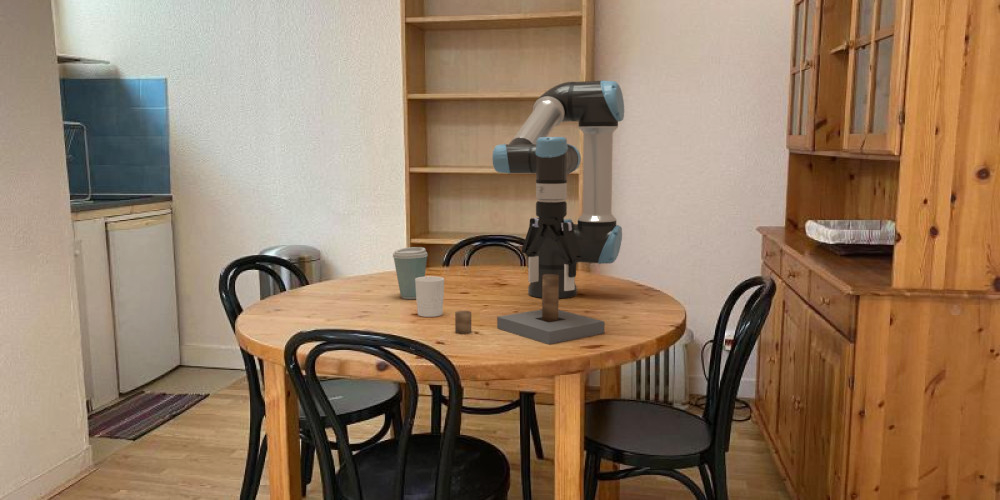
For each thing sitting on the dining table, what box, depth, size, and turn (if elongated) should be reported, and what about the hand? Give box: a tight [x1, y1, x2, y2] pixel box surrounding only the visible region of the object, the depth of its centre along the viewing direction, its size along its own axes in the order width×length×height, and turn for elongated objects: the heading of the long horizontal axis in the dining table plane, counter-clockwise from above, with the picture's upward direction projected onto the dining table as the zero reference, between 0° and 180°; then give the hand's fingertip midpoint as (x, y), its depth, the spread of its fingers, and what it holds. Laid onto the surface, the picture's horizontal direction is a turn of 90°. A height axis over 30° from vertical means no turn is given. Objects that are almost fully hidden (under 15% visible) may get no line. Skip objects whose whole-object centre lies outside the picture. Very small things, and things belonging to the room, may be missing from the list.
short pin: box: [454, 310, 472, 335], centre depth 190 cm, size 4×4×5 cm
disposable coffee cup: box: [392, 246, 429, 300], centre depth 233 cm, size 11×11×15 cm
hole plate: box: [496, 308, 606, 345], centre depth 192 cm, size 20×18×3 cm
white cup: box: [415, 275, 445, 318], centre depth 210 cm, size 8×8×10 cm
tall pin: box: [541, 274, 560, 322], centre depth 191 cm, size 4×4×14 cm
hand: (550, 286), depth 191 cm, fingers open, 13 cm apart
